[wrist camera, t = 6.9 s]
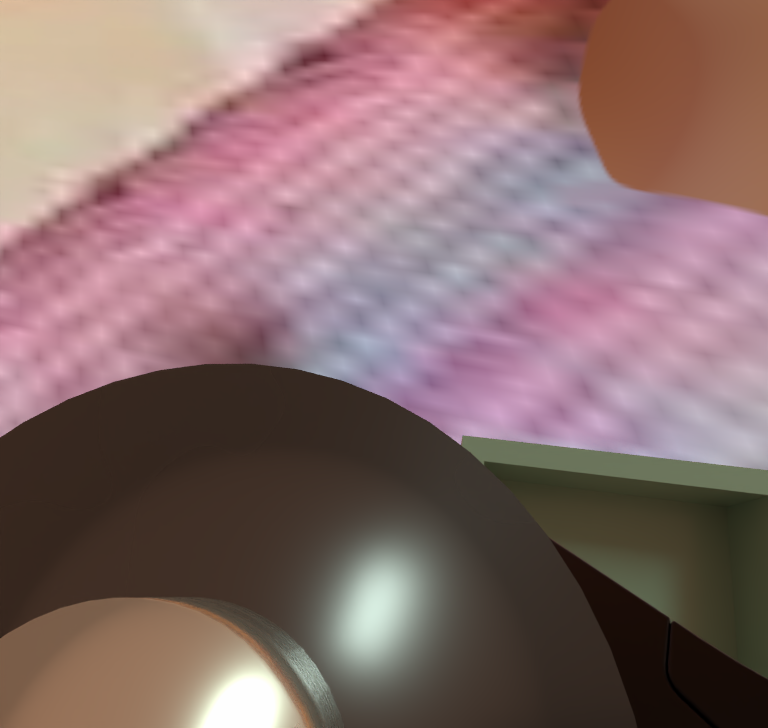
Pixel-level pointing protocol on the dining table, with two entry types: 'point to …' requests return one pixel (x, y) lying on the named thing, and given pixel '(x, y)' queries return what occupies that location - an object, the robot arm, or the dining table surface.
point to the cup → (655, 531)
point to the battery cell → (278, 568)
